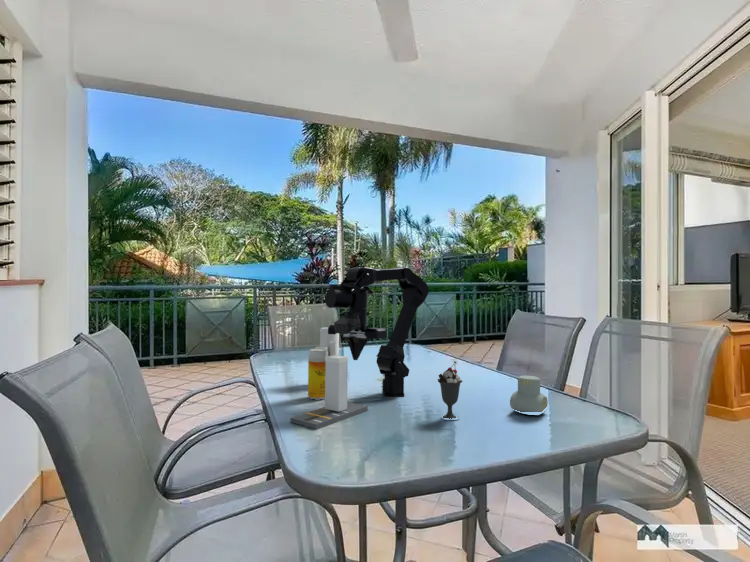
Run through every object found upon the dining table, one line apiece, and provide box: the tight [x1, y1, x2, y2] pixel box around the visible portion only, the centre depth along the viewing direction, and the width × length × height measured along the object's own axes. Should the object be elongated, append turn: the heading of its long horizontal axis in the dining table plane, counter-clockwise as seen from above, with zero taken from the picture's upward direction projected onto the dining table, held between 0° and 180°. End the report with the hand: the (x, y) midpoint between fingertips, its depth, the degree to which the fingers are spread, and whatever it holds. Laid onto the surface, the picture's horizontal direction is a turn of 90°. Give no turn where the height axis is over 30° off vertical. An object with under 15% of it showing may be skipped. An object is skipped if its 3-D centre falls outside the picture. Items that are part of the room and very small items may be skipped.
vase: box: [314, 326, 340, 356], centre depth 156 cm, size 11×7×20 cm, turn 170°
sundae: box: [437, 361, 463, 419], centre depth 118 cm, size 7×7×15 cm
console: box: [289, 401, 369, 430], centre depth 118 cm, size 21×9×1 cm, turn 145°
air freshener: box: [509, 375, 548, 412], centre depth 123 cm, size 11×8×10 cm
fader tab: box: [324, 355, 349, 412], centre depth 120 cm, size 4×5×14 cm
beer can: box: [307, 348, 328, 401], centre depth 138 cm, size 6×6×15 cm
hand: (355, 360), depth 134 cm, fingers closed
